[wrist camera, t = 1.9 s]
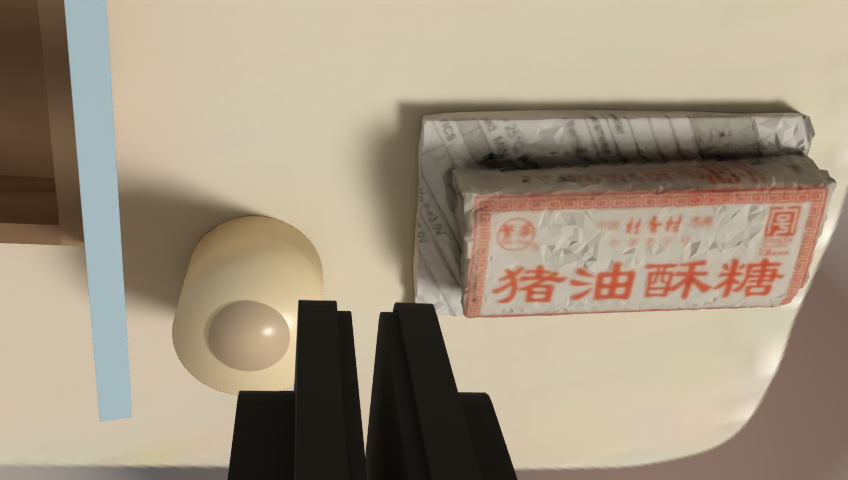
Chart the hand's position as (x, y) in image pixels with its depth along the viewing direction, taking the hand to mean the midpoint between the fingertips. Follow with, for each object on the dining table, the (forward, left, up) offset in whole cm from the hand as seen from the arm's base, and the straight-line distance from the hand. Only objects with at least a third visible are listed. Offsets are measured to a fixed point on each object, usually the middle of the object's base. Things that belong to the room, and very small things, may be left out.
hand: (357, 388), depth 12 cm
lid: (0, -7, -13) cm, 15 cm away
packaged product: (+7, +13, -24) cm, 28 cm away
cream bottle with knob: (+11, -2, -23) cm, 26 cm away
